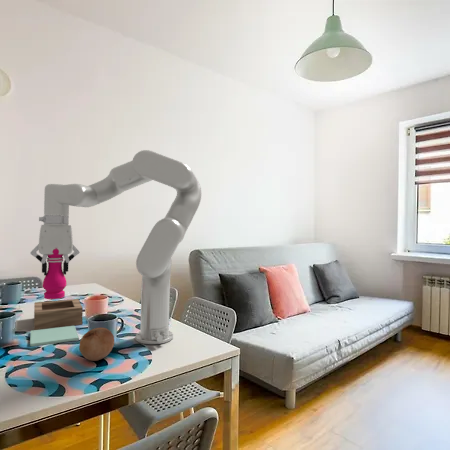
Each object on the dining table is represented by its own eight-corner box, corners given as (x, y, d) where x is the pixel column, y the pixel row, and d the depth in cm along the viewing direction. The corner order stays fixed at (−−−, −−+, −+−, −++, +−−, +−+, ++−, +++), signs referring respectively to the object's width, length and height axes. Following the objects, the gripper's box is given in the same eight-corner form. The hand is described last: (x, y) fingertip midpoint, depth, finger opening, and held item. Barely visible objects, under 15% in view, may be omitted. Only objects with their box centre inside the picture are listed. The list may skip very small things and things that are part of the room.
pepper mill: (56, 300, 110) (57, 239, 110) (37, 298, 112) (38, 238, 112) (70, 295, 117) (71, 238, 117) (52, 294, 119) (53, 237, 119)
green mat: (78, 339, 112) (78, 337, 112) (30, 346, 105) (30, 344, 105) (74, 327, 124) (74, 325, 124) (30, 333, 117) (30, 330, 117)
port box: (82, 324, 128) (82, 307, 128) (33, 330, 121) (34, 312, 120) (77, 313, 142) (78, 298, 142) (34, 318, 135) (34, 302, 134)
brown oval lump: (89, 374, 94) (78, 348, 90) (82, 354, 101) (71, 329, 97) (122, 356, 99) (113, 330, 94) (112, 338, 106) (103, 314, 101)
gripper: (26, 220, 107) (25, 277, 107) (84, 221, 115) (83, 274, 115) (27, 220, 113) (26, 274, 114) (82, 221, 122) (81, 271, 122)
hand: (55, 273), depth 115 cm, fingers closed on pepper mill, 5 cm apart
